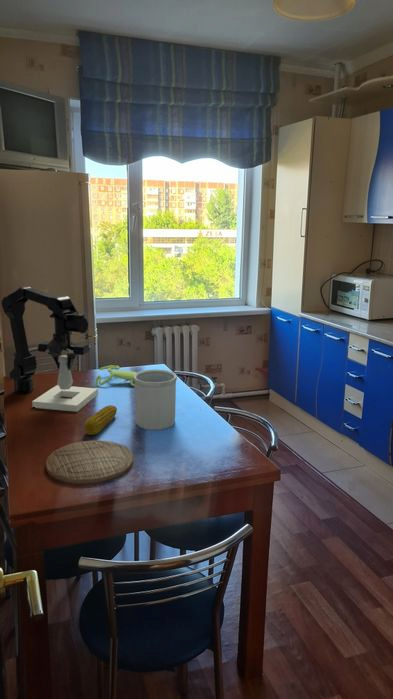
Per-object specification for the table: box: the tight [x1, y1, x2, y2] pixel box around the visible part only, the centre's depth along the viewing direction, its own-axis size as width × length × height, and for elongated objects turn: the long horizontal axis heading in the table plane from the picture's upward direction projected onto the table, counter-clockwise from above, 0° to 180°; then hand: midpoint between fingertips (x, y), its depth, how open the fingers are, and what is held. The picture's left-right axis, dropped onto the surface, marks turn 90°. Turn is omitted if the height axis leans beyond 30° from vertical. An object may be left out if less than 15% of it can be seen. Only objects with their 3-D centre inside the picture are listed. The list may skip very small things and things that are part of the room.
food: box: [83, 405, 118, 436], centre depth 177 cm, size 21×6×6 cm, turn 168°
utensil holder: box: [133, 369, 178, 431], centre depth 178 cm, size 15×15×18 cm
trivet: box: [45, 440, 134, 485], centre depth 150 cm, size 25×25×2 cm
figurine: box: [94, 364, 137, 387], centre depth 225 cm, size 18×27×6 cm
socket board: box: [31, 384, 99, 413], centre depth 200 cm, size 18×20×2 cm
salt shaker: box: [56, 354, 74, 390], centre depth 197 cm, size 6×6×13 cm
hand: (64, 369), depth 197 cm, fingers closed on salt shaker, 4 cm apart
